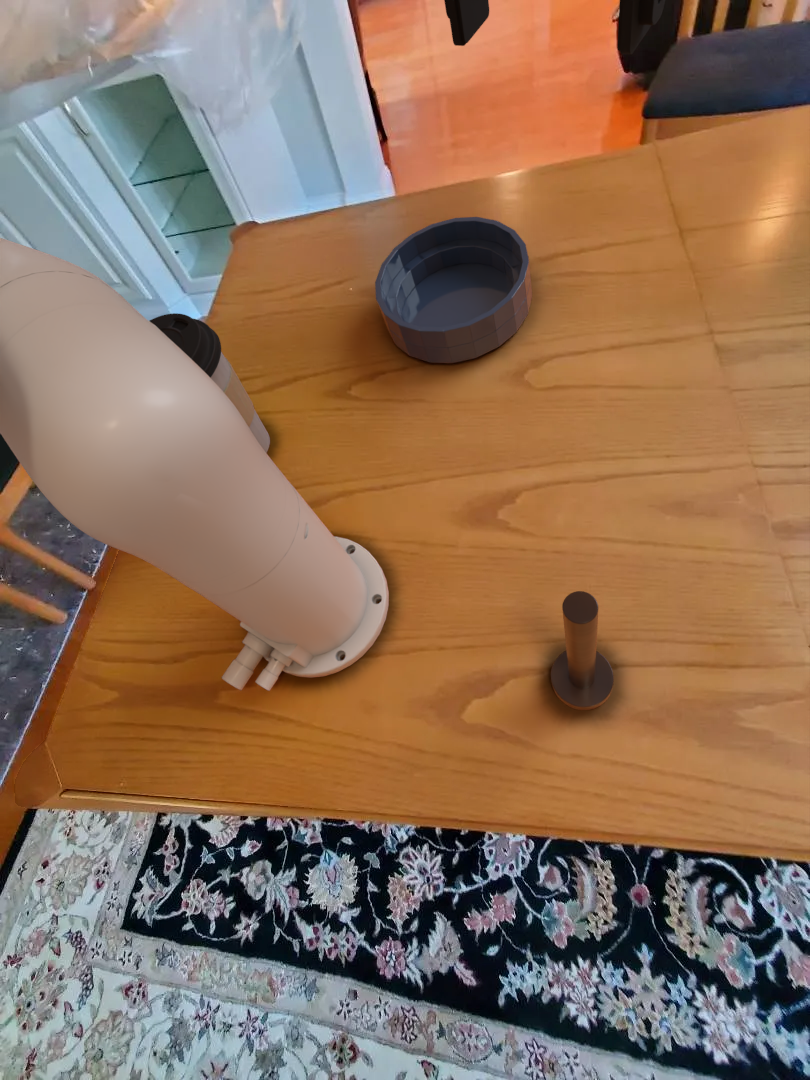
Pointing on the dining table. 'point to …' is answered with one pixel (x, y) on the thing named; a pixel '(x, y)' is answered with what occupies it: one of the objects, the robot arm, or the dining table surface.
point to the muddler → (581, 657)
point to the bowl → (455, 289)
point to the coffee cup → (212, 364)
